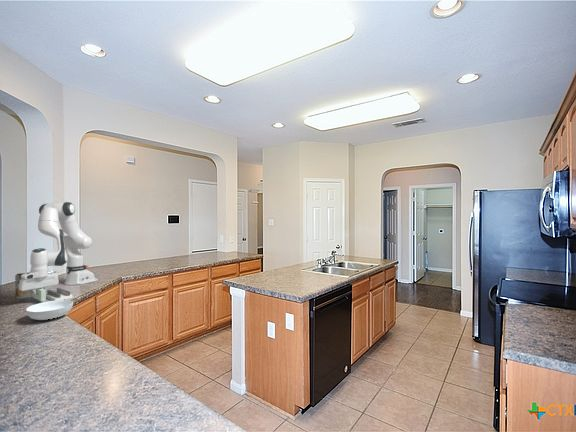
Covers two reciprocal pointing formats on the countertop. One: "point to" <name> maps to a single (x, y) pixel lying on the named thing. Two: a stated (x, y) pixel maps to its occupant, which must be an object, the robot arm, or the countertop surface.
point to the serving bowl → (49, 309)
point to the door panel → (40, 294)
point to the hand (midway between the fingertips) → (39, 294)
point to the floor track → (58, 294)
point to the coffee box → (21, 293)
